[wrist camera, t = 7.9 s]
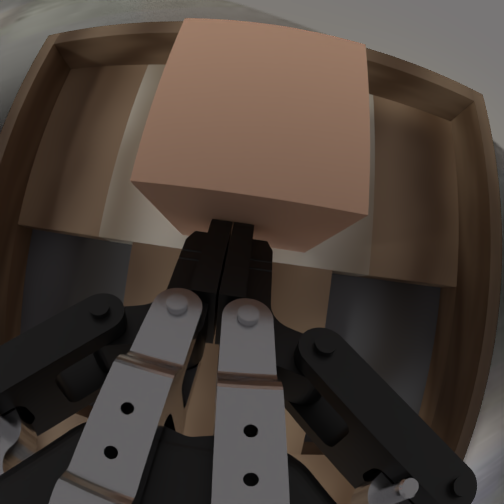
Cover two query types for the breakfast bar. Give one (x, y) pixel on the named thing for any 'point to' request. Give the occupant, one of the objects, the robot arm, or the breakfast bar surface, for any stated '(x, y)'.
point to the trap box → (284, 261)
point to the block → (259, 132)
